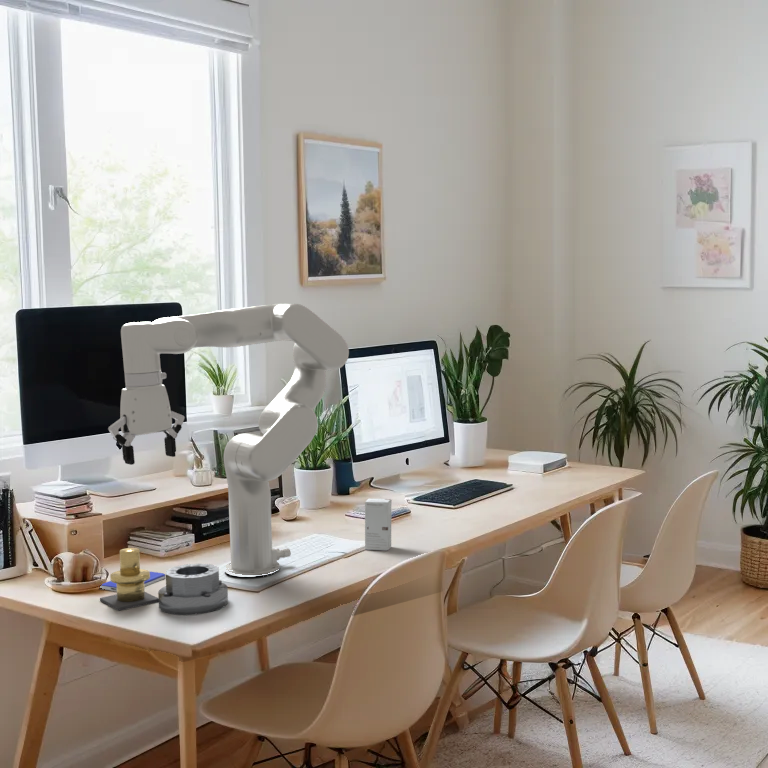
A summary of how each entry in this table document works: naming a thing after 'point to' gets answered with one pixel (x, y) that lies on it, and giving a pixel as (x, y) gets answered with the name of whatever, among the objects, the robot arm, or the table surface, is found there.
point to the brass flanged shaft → (130, 576)
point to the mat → (121, 605)
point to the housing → (193, 590)
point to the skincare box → (378, 524)
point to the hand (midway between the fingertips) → (150, 459)
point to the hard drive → (153, 578)
